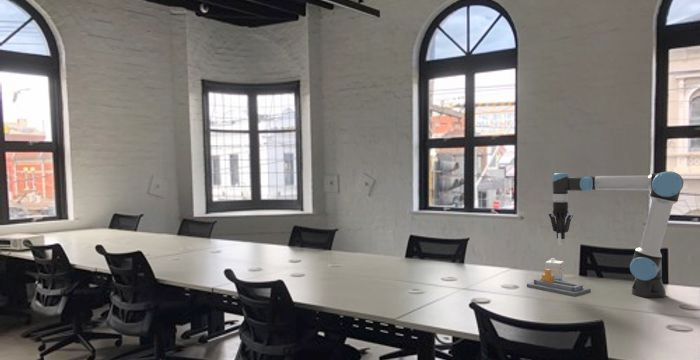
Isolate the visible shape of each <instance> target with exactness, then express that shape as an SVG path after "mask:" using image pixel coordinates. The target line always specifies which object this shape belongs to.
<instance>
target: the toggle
mask: <svg viewBox="0 0 700 360" xmlns="http://www.w3.org/2000/svg"><path fill="white" fill-rule="evenodd" d="M541 278H542V281H545V282H551V283H554V275H551V269H544V273H542V274H541Z"/></svg>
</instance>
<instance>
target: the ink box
mask: <svg viewBox="0 0 700 360" xmlns="http://www.w3.org/2000/svg"><path fill="white" fill-rule="evenodd" d="M544 262H545V265H544V267H545V269H551V275H554V280H557V281H563V282H565V268H564V267H565V266H564V265H565V261H563V260H557V259H556V258H555V257H552V258H550V259H548V260H547V261H544ZM545 269H544V270H545Z"/></svg>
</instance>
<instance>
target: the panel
mask: <svg viewBox="0 0 700 360" xmlns="http://www.w3.org/2000/svg"><path fill="white" fill-rule="evenodd" d="M526 287H527V288H532V289H537V290H543V291H547V292H552V293H556V294H561V295H567V296H571V297H577V296H579V295H583V294H586V293H589V292H591V291H592V290H591V288H589V287H585V286H584V285H583V284H578V283H574V282H573V283H572V282H568V281H567V282H566V281H557V280H554V283H551V282H545V281H542V277H541V278H538V279H537V278H536V279H533V282H529V283H526Z"/></svg>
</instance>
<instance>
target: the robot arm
mask: <svg viewBox="0 0 700 360" xmlns="http://www.w3.org/2000/svg"><path fill="white" fill-rule="evenodd" d="M683 187H684V179H683V177H682V175H680V174H679V173H678V172H675V171H672V170H671V171H667V170H666V171H662V172H659V173H657V172H656V173H650V174H649V175H584V176H569V175H568V173H566V172H565V173H564V172H559V173H554V174H552V201H553V202H552V208H553V210H552V212H550V213H549V214H548V216H549V219H550V222H551V226H552V227H551V228H552V231H553V232H554V233H556V239H557V243H558V244H557V245H558V246H564V240H565V239H566V235H565V234H566V233H568V232H569V230H570V225H571V223H572V222H571V221H572V218H573V217H574V215H573V214H570V213H569V204H568V203H569V202H568V201H569V192H571V191H572V192H573V191H574V192H575V191H576V192H589V191H595V190H596V191H650V194H649V198H650V199H651V204H650V207H649V211H648V215H647V218H646V223H645V227H644V229H643V234H642V237H641V240H640V245H639V246H638V247H636V248H635V250H634V254H633V257H632V260H631V262H630V264H629V271H630V273H631V274H632V275H633V276H634V278H635V279H634V280H633V281H634V282H633V284H632V286H631V294H633V295H635V296H638V297H643V298H654V299H659V298H665V297H666V296H667V291H666V289H665V286H664V284H663V283H664V282H663V279H662V278H663V277H662V275H663V274H662V271H663V270H662V266H663V265H662V259H663V255H662V252H661V248H662V245H663V241H664V237H665V233H666V230H667V226H668V223H669V219H670V217H671V212H672V209H673V205H674V204H677V203H678V201H679V199H680V194H681V190H682V189H683Z"/></svg>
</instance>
